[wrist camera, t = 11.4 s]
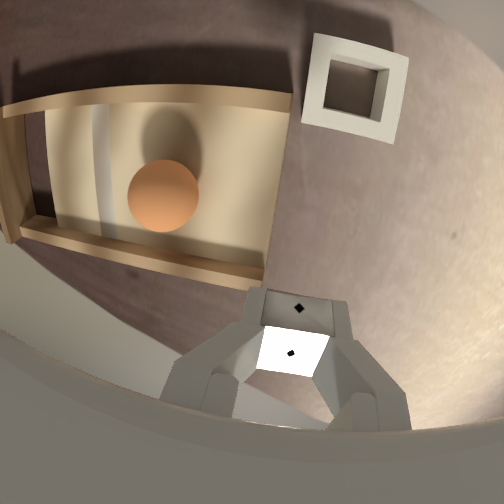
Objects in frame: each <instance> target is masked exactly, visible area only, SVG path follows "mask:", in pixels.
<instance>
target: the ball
mask: <svg viewBox="0 0 504 504" xmlns="http://www.w3.org/2000/svg"><path fill="white" fill-rule="evenodd" d="M127 200H128V206H129V209H130V212H131V214H132V215H133V217H134V218H135V220H136V221H137V222H138V223H139V224H141V225H142V226H143V227H145V228H147V229H149V230H152V231H156V232H168V231H172V230H175V229H178V228H180V227H181V226H183V225H184V224H185V223H187V222H188V221H189V220H190V218H191V217H192V216H193V214H194V212H195V210H196V208H197V205H198V200H199V189H198V185H197V182H196V179H195V178H194V176H193V174H192V173H191V172H190V171H189V170H188V169H187V168H186V167H185V166H184V165H182V164H180V163H178V162H176V161H172V160H156V161H153V162H150V163H148V164H146V165H144V166H143V167H142V168H141V169H139V170H138V171H137V172H136V174H135V175H134V176H133V178H132V180H131V182H130V185H129V188H128V194H127Z"/></svg>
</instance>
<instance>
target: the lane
mask: <svg viewBox="0 0 504 504" xmlns="http://www.w3.org/2000/svg"><path fill="white" fill-rule="evenodd" d="M292 100H293V94H292V93H286V92H279V91H272V90H264V89H256V88H246V87H235V86H222V85H203V84H145V85H127V86H114V87H103V88H94V89H86V90H79V91H72V92H66V93H60V94H54V95H49V96H44V97H39V98H34V99H30V100H26V101H21V102H17V103H14V104H10V105H7V106H3V107H0V222H1V226H2V229H3V233H4V237H5V240H6V242H7V243H9V244H13V243H14V242H15V241H17V240H18V239H19V238H20V237H22V236H23V237H27V238H30V239H33V240H37V241H40V242H44V243H48V244H51V245H55V246H58V247H62V248H66V249H69V250H73V251H77V252H81V253H85V254H88V255H92V256H96V257H100V258H104V259H108V260H112V261H116V262H120V263H124V264H128V265H132V266H136V267H140V268H145V269H149V270H153V271H157V272H162V273H166V274H171V275H175V276H179V277H184V278H188V279H193V280H197V281H202V282H207V283H211V284H216V285H221V286H226V287H231V288H235V289H240V290H245V291H248V289H249V287H250V285H252V286H257V287H262V282H263V278H264V274H265V269H266V263H267V257H268V251H269V245H270V240H271V234H272V228H273V222H274V216H275V209H276V203H277V197H278V191H279V185H280V178H281V172H282V166H283V159H284V153H285V147H286V140H287V134H288V127H289V120H290V114H291V107H292ZM44 110H45V124H46V142H47V154H48V164H49V172H50V180H51V187H52V194H53V200H54V206H55V212H56V217H57V218H52V217H47V216H42V215H37V214H36V209H35V204H34V199H33V193H32V187H31V181H30V174H29V166H28V158H27V148H26V137H25V119H24V114H26V113H32V112H38V111H44ZM156 160H172V161H176V162H178V163H180V164H182V165H184V166H185V167H186V168H187V169H188V170H189V171H190V172H191V173H192V174H193V176H194V178H195V179H196V182H197V185H198V189H199V200H198V205H197V208H196V210H195V212H194V214H193V216H192V217H191V218H190V220H189V221H188V222H187V223H185V224H184V225H183V226H181V227H180V228H178V229H175V230H172V231H168V232H156V231H152V230H149V229H147V228H145V227H143V226H142V225H141V224H139V223H138V222H137V221H136V220H135V218H134V217H133V215H132V214H131V212H130V209H129V206H128V200H127V194H128V188H129V185H130V182H131V180H132V178H133V176H134V175H135V174H136V172H137V171H138V170H139V169H141V168H142V167H143V166H144V165H146V164H148V163H150V162H153V161H156Z"/></svg>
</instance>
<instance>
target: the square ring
mask: <svg viewBox="0 0 504 504" xmlns="http://www.w3.org/2000/svg"><path fill="white" fill-rule="evenodd" d="M330 59H332V60H336V61H341V62H345V63H349V64H353V65H357V66H361V67H365V68H369V69H372V70H376V71H378V74H377V80H376V86H375V92H374V98H373V103H372V109H371V114H370V118H368V117H364V116H361V115H357V114H353V113H349V112H344V111H340V110H336V109H331V108H326V107H323V103H324V97H325V91H326V85H327V78H328V72H329V65H330ZM408 63H409V58H408V57H405V56H402V55H399V54H396V53H393V52H390V51H387V50H384V49H381V48H377V47H374V46H370V45H367V44H363V43H359V42H356V41H351V40H347V39H343V38H339V37H334V36H329V35H324V34H319V33H314V38H313V45H312V52H311V59H310V66H309V73H308V80H307V86H306V93H305V100H304V106H303V112H302V119H301V123H306V124H312V125H317V126H322V127H326V128H331V129H336V130H340V131H344V132H349V133H353V134H357V135H361V136H365V137H369V138H372V139H376V140H380V141H383V142H387V143H390V144H393V143H394V139H395V134H396V130H397V125H398V120H399V115H400V110H401V105H402V100H403V94H404V89H405V83H406V77H407V70H408Z"/></svg>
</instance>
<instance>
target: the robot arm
mask: <svg viewBox="0 0 504 504" xmlns="http://www.w3.org/2000/svg"><path fill="white" fill-rule="evenodd" d="M257 368H260V369H267V370H274V371H282V372H284V371H285V372H288V373H294V374H300V375H307V376H312V377H311V378H312V380H313V381H314V383H315V385H316V387H317V388H318V390H319V392H320V393H321V395H322V397H323V399H324V400H325V402H326V404H327V406H328V407H329V409H330V411H331V412H332V414H333V416H334V419H333V420H332V422H331V423H330V424H329V425H328V427H327V428H326V429H325V430H317V429H305V428H296V427H287V426H279V425H271V424H265V423H258V422H252V421H246V420H241V419H235V418H233V414H234V408H235V403H236V397H237V391H238V387H239V386H240V385H241V384H242V383H243V382H244V381H245V380H246V379H247V378H248V377H249V376H250V375H251V374H252V373H253V372H254V371H255V370H256V369H257ZM0 504H504V416H503V417H499V418H495V419H490V420H485V421H480V422H474V423H469V424H462V425H456V426H448V427H440V428H430V429H419V430H412V428H411V422H410V416H409V410H408V405H407V399H406V394H405V392H404V391H403V390H402V389H401V388H400V387H399V386H398V384H397V383H396V382H395V381H394V380H393V379H392V378H391V377H390V375H389V374H388V373H387V372H386V371H385V370H384V369H383V368H382V367H381V365H380V364H379V363H378V362H377V361H376V360H375V359H374V358H373V357H372V355H371V354H370V353H369V352H368V351H367V350H366V349H365V348H364V347H363V346H362V344H361V343H360V342H359V341H358V340H353V334H352V328H351V322H350V315H349V310H348V304H347V302H346V301H339V300H331V299H330V300H328V299H321V298H315V297H309V296H303V295H298V294H293V293H288V292H283V291H278V290H273V289H268V288H267V291H266V288H262V287H257V286H252V285H250V287H249V289H248V293H247V297H246V301H245V305H244V309H243V313H242V317H241V321H240V322H238V321H235V322H233V323H232V324H230V325H229V326H227V327H226V328H224V329H223V330H221V331H220V332H218V333H217V334H215V335H214V336H212V337H211V338H209V339H208V340H206V341H205V342H203V343H202V344H200V345H199V346H197V347H196V348H194V349H193V350H191V351H190V352H188V353H187V354H185V355H183V356H182V357H180V358H179V359H177V360H176V361H175V362H174V364H173V367H172V369H171V372H170V374H169V376H168V379H167V381H166V384H165V386H164V389H163V391H162V393H161V396H160V398H159V399H156V398H152V397H149V396H146V395H143V394H140V393H137V392H134V391H131V390H129V389H126V388H123V387H120V386H118V385H115V384H112V383H110V382H107V381H105V380H102V379H100V378H97V377H95V376H92V375H90V374H88V373H85V372H83V371H81V370H79V369H76V368H74V367H72V366H70V365H67V364H65V363H63V362H61V361H59V360H57V359H55V358H53V357H51V356H49V355H47V354H45V353H43V352H41V351H40V350H38V349H36V348H34V347H32V346H30V345H28V344H26V343H25V342H23V341H21V340H19V339H18V338H16V337H15V336H13V335H11V334H10V333H7V332H6V331H5V330H3V329H1V328H0Z"/></svg>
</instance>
